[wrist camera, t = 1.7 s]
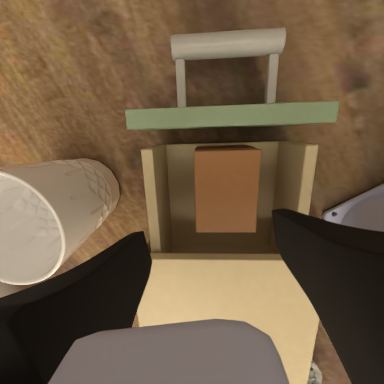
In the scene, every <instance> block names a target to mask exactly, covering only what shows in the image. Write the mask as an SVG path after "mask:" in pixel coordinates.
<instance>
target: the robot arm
mask: <svg viewBox="0 0 384 384" xmlns="http://www.w3.org/2000/svg"><path fill="white" fill-rule="evenodd" d="M333 212H335V213H334V214H333V215H332V213H333ZM272 218H273V228H274V238H275V245H276V247H277V249H278V251H279V253H280V255H281V257H282V259H283V261H284V262H285V264H286V265H287V267H288V269H289V270H290V272H291V273H292V275H293V276H294V278H295V279H296V280H297V282H298V283H299V285H300V286H301V288H302V289H303V291H304V292H305V294H306V295H307V297H308V299H309V300H310V302H311V304H312V305H313V307H314V309H315V311H316V313H317V315H318V317H319V319H320V321H321V322H322V324H323V326H324V328H325V330H326V332H327V334H328V336H329V338H330V340H331V342H332V344H333V346H334V348H335V350H336V352H337V354H338V356H339V358H340V360H341V362H342V364H343V366H344V368H345V370H346V372H347V375H348V377H349V379H350V381H351V383H352V384H384V183H383V184H381V185H379V186H377V187H375V188H373V189H371V190H369V191H367V192H365V193H363V194H361V195H358V196H356V197H354V198H352V199H350V200H348V201H346V202H344V203H342V204H340V205H338V206H336V207H334V208H331V209H329V210H327V211H325V212H324V213H323V219H324V220H322V219H319V218H315V217H312V216H309V215H306V214H303V213H300V212H296V211H293V210H290V209H285V208H282V209H276V210H272ZM151 266H152V258H151V255H150V252H149V248H148V245H147V242H146V238H145V235H144V232H143V231H140V232H134V233H131V234H129V235H127V236H126V237H124V238H122V239H121V240H119V241H118V242H116V243H115V244H113V245H112V246H110V247H109V248H107V249H105V250H104V251H102V252H101V253H99V254H97V255H96V256H94V257H92V258H91V259H89V260H88V261H86V262H84V263H82V264H80V265H79V266H77V267H75V268H73V269H71V270H69V271H67V272H65V273H63V274H60V275H58V276H56V277H54V278H51V279H49V280H47V281H45V282H43V283H40V284H38V285H35V286H32V287H30V288H27V289H25V290H22V291H19V292H16V293H14V294H11V295H8V296H5V297H2V298H0V384H290V383H289V380H288V377H287V374H286V371H285V368H284V365H283V363H282V360H281V357H280V355H279V353H278V351H277V349H276V347H275V345H274V343H273V341H272V339H271V337H270V336H269V335H268V334H266V333H264V332H263V331H261V330H259V329H257V328H256V327H254V326H252V325H250V324H249V323H247V322H245V321H238V320H227V319H217V318H216V319H207V320H198V321H189V322H180V323H171V324H161V325H152V326H143V327H134V328H132V324H133V321H134V318H135V315H136V312H137V309H138V307H139V304H140V301H141V299H142V296H143V293H144V290H145V288H146V285H147V282H148V279H149V276H150V271H151Z"/></svg>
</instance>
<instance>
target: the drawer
mask: <svg viewBox="0 0 384 384" xmlns="http://www.w3.org/2000/svg"><path fill="white" fill-rule="evenodd" d="M285 40H286V29H285V28H284V27H281V28H266V29H251V30H236V31H221V32H206V33H190V34H175V35H171V53H172V59H173V61H175V64H176V85H177V105H178V107H172V108H148V109H126V110H125V116H126V125H127V129H131V130H175V129H204V128H234V127H263V126H292V125H305V124H318V123H331V122H336V119H337V113H338V107H339V101H317V102H293V103H275V98H276V86H277V73H278V60H279V55H280V54H281V53H282V51H283V49H284V45H285ZM254 56H268V57H267V67H266V83H265V98H264V104H244V105H220V106H196V107H187V99H186V71H185V60H201V59H219V58H236V57H254ZM219 145H248V146H253V147H255V148H257V149H260V150H261V160H260V176H259V191H258V206H257V222H256V232H255V233H213V232H196V217H195V183H194V151H195V148H196V147H197V146H219ZM317 152H318V145H317V144H308V143H299V142H290V141H261V142H227V143H192V144H160V145H156V146H152V147H149V148H145V149H141V157H142V167H143V177H144V186H145V196H146V206H147V216H148V226H149V235H150V245H151V253H203V254H280V253H279V251H278V249H277V247H276V245H275V238H274V228H273V218H272V210H276V209H282V208H285V209H290V210H293V211H296V212H300V213H303V214H306V215H309V208H310V201H311V194H312V187H313V180H314V173H315V166H316V159H317Z"/></svg>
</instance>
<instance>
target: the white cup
mask: <svg viewBox="0 0 384 384" xmlns="http://www.w3.org/2000/svg"><path fill="white" fill-rule="evenodd" d="M119 198H120V192H119V183H118V181H117V180H116V178H115V176H114V174H113V173H112V171H111V170H110V169H109V168H107V167H106V166H105V165H103V164H102V163H101V162H99V161H95V160H91V159H87V158H80V159H74V160H54V161H42V162H34V163H26V164H18V165H10V166H2V167H0V281H1V282H4V283H8V284H15V285H27V284H33V283H37V282H40V281H43V280H45V279H47V278H48V277H50V276H51V275H52V274H53V273H54V272H55V271H56V270H57V269H58V268H59V267H60V266H61V265H62V264H63V263H64V262H65V261H66V260H67V259H68V258H69V257H70V256H71V255H72V254H73V253H74V252H75V251H76V250H77V249H78V248H79V247H80V246H81V245H82V244H83V243H84V242H85V241H86V240H87V239H88V238H89V237H90V236H91V235H92V234H93V233H94V231H95V230H96V229H97V228H98V227H99V226H100V225H101V224H102V223H103V221H104V220H105V218H106V217H107V216H108V215H109V214H110V213H111V212H112V211H113V210H114V209H115V208H116V205H117V203H118V200H119Z"/></svg>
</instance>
